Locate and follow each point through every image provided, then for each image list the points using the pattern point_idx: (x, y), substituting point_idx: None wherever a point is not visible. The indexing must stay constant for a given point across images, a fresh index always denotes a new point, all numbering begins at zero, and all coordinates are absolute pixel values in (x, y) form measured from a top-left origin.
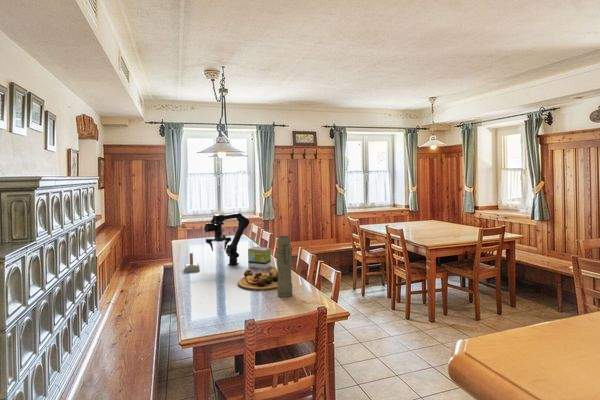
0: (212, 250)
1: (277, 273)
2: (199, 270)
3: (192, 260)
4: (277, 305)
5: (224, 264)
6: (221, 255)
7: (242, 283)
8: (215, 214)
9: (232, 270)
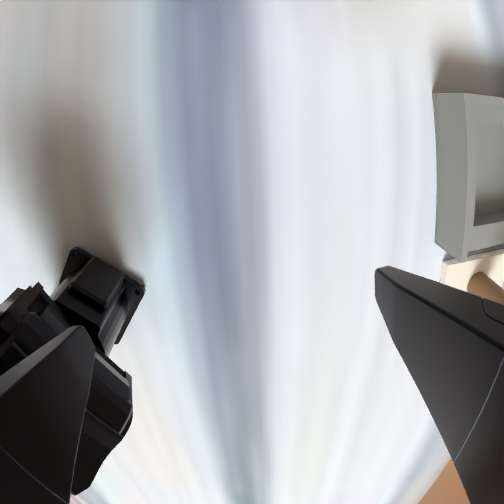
0: (401, 271)
1: None
2: (436, 93)
3: (501, 302)
4: None
5: (185, 317)
6: (241, 497)
7: None
8: None
9: (80, 42)
